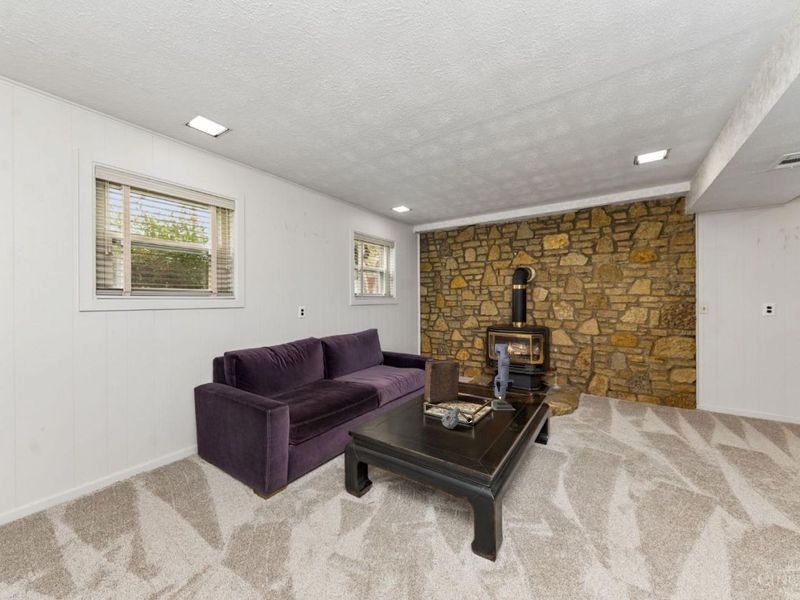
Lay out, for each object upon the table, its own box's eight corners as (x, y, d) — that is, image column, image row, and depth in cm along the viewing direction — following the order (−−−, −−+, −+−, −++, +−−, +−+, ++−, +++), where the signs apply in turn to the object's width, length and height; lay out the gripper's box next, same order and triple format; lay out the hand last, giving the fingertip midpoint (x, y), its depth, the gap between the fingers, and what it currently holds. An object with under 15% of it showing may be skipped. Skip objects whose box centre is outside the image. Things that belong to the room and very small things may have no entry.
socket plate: (483, 400, 263) (483, 397, 263) (503, 400, 265) (503, 397, 265) (494, 411, 241) (494, 407, 241) (515, 411, 243) (515, 407, 243)
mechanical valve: (438, 420, 212) (452, 401, 216) (454, 434, 220) (468, 416, 223) (447, 428, 203) (462, 408, 206) (463, 442, 210) (478, 423, 214)
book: (451, 396, 271) (453, 359, 270) (458, 399, 263) (459, 361, 262) (424, 399, 261) (425, 361, 260) (429, 403, 252) (431, 363, 251)
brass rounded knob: (497, 405, 251) (498, 394, 251) (502, 405, 252) (503, 394, 251) (499, 407, 247) (500, 396, 247) (504, 407, 248) (505, 396, 247)
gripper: (497, 375, 252) (496, 393, 253) (515, 375, 254) (515, 393, 254) (493, 373, 259) (493, 390, 260) (511, 373, 261) (510, 390, 261)
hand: (503, 391), depth 257 cm, fingers open, 7 cm apart
